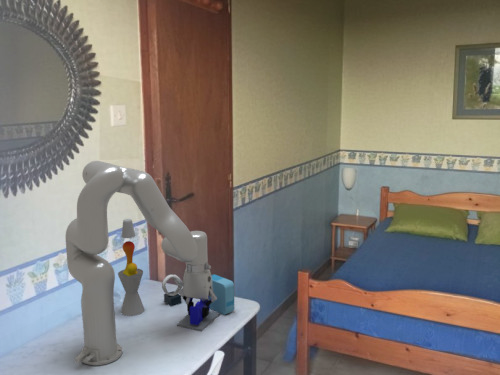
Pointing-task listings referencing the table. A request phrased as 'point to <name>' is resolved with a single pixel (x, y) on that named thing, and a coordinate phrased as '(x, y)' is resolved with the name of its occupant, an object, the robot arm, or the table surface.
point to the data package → (222, 295)
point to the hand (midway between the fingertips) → (198, 314)
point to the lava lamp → (130, 275)
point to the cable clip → (196, 313)
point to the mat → (202, 325)
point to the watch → (173, 297)
